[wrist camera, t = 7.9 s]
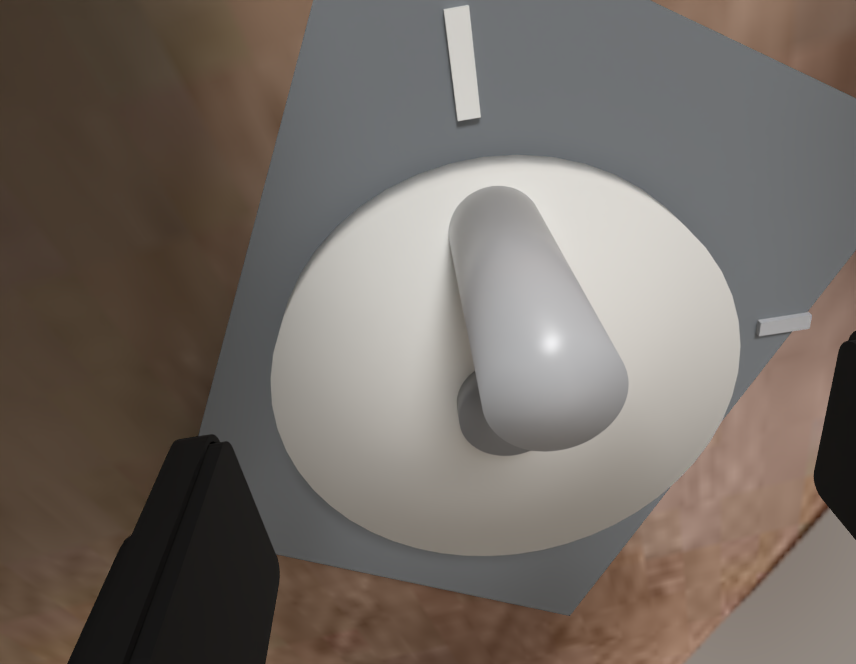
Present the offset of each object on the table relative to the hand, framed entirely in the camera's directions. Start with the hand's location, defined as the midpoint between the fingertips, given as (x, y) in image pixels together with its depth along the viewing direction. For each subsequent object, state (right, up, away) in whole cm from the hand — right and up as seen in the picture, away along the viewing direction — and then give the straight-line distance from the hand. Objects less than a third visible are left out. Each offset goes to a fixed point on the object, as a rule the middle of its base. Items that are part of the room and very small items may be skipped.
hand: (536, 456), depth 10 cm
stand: (+1, +2, +12) cm, 12 cm away
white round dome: (+1, +1, +10) cm, 11 cm away
